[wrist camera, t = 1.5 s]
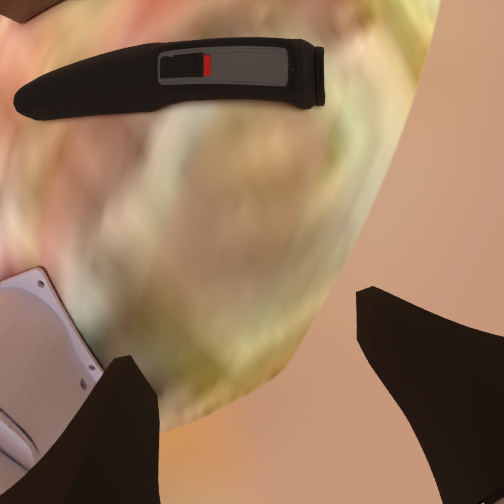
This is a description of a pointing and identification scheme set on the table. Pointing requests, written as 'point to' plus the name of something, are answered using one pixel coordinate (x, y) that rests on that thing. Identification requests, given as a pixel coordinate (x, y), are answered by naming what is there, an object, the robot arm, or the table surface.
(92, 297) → the table surface
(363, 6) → the table surface
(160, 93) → the electric trimmer
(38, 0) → the gauge plunger
